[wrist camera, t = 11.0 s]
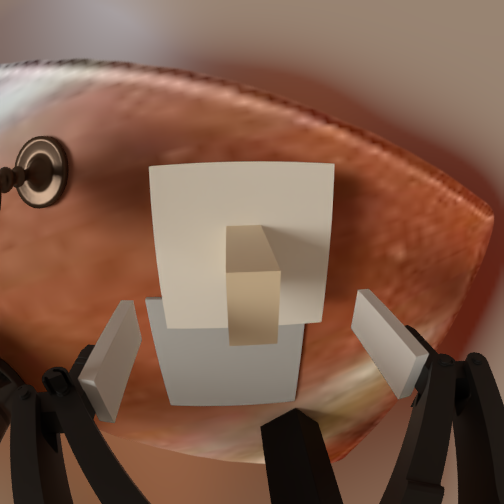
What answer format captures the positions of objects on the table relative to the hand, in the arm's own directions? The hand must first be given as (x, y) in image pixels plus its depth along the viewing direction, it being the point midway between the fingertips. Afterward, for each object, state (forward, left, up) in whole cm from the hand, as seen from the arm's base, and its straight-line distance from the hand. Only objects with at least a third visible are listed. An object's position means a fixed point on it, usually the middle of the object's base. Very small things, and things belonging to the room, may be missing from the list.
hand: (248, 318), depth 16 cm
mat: (-2, -18, -17) cm, 25 cm away
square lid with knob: (0, 0, -11) cm, 11 cm away
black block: (+8, -36, -18) cm, 41 cm away
